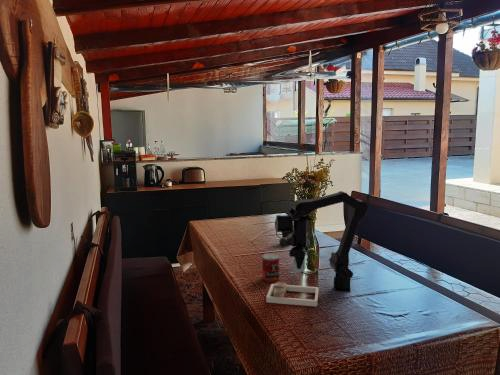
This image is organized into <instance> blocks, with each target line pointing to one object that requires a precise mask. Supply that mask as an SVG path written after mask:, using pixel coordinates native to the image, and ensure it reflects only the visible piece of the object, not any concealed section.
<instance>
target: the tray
mask: <svg viewBox="0 0 500 375" xmlns="http://www.w3.org/2000/svg"><path fill="white" fill-rule="evenodd" d="M275 285H276V283H271V284H270V286H269V289H268V291H267V294H266V296H265V298H266V299H265V301H266V302H265V303H270V304H280V305H281V304H283V305H295V306H307V307H318V300H319V299H318V298H319V287H318V286H307V285H306V286H305V285H292V284H287V287H286V292H287V291H288V292H299V293H310V294H311V293H312V294H315V295H314V299H308V298H296V297H295V298H294V297H285V296H284V297H274V296H273V294H274V289H275Z"/></svg>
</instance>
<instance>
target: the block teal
mask: <svg viewBox="0 0 500 375" xmlns="http://www.w3.org/2000/svg"><path fill="white" fill-rule="evenodd" d="M305 270H306V258H305V259H304V261H303V263H302V266H301V268H300V269H298V268H297V264H296V260H295V258H294V259H293V272H299V273H300V272H303V273H305Z"/></svg>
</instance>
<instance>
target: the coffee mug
mask: <svg viewBox="0 0 500 375" xmlns="http://www.w3.org/2000/svg"><path fill="white" fill-rule="evenodd" d="M292 234H293V229H292V230H291V231H288V232H281V237H280V236H279V235H278V232H276V231H275V235H276V236H277V237H278V238H279V239H281V238H284V237H287V236H291V235H292Z"/></svg>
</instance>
